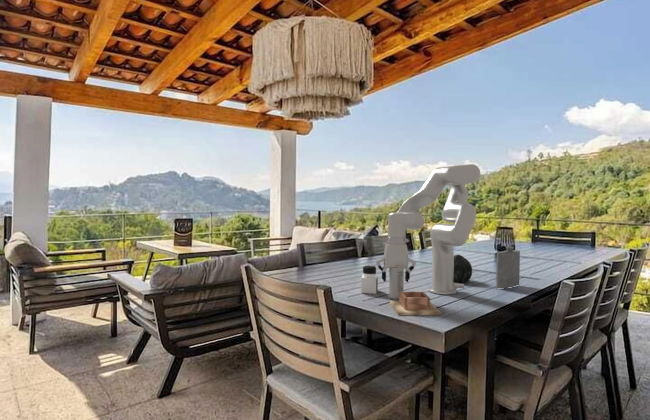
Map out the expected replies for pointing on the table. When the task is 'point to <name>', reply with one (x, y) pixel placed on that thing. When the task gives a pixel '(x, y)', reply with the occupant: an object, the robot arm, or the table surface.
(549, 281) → the table surface
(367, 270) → the medicine bottle
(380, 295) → the table surface
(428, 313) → the can sleeve stand
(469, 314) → the table surface
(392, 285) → the energy drink can
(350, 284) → the table surface
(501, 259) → the grey tall flat block
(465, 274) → the squash
